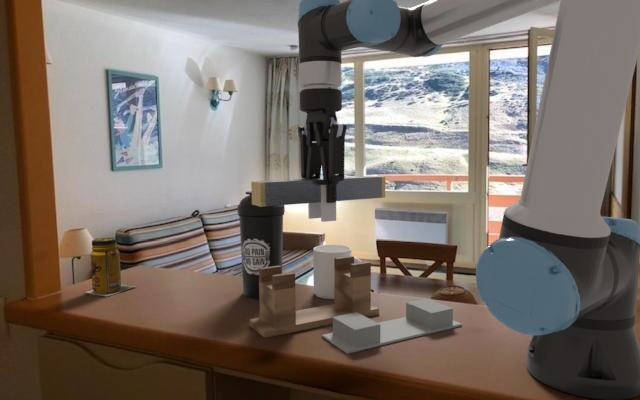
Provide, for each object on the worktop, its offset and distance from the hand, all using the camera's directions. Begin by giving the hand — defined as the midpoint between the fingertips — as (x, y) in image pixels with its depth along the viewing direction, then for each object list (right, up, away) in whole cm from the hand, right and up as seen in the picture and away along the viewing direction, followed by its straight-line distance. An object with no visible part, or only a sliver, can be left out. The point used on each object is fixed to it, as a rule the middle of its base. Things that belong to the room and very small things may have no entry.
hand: (322, 219), depth 93 cm
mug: (+4, -18, +18) cm, 26 cm away
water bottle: (-13, -17, +20) cm, 30 cm away
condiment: (-48, -17, +23) cm, 56 cm away
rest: (+13, -20, -3) cm, 24 cm away
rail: (0, +3, 0) cm, 3 cm away
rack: (-1, -19, +3) cm, 19 cm away
